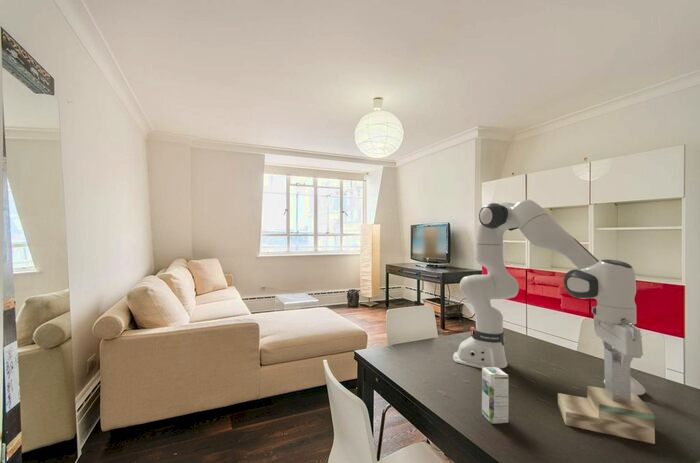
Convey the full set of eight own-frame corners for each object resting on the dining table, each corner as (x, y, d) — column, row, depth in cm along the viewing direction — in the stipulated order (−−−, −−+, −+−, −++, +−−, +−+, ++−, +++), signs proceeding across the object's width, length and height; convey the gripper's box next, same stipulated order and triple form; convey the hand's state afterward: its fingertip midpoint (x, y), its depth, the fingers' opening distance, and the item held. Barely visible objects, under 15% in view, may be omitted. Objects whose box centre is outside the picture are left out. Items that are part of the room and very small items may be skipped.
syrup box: (481, 413, 97) (480, 367, 98) (498, 412, 98) (498, 366, 98) (490, 424, 92) (490, 375, 92) (509, 423, 92) (509, 374, 93)
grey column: (612, 401, 90) (611, 352, 90) (604, 393, 94) (604, 347, 94) (630, 403, 88) (630, 354, 89) (622, 395, 93) (621, 349, 93)
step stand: (566, 425, 91) (565, 398, 91) (557, 405, 102) (557, 380, 102) (655, 444, 83) (654, 414, 83) (636, 420, 94) (635, 393, 94)
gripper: (650, 325, 81) (650, 378, 81) (612, 308, 100) (613, 350, 100) (620, 323, 83) (621, 375, 83) (589, 306, 102) (589, 348, 102)
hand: (616, 361), depth 91 cm, fingers open, 8 cm apart
